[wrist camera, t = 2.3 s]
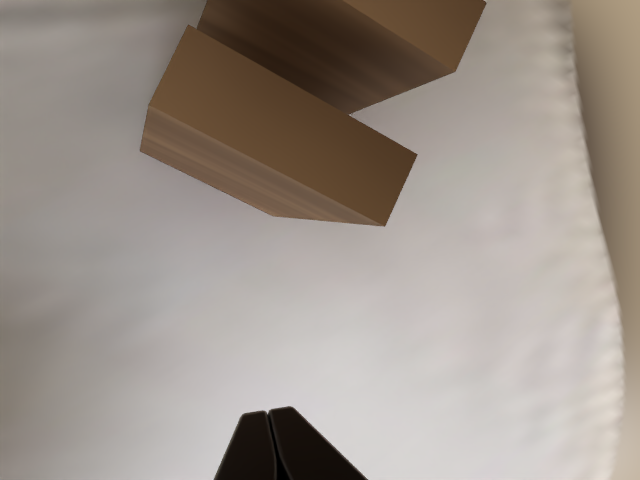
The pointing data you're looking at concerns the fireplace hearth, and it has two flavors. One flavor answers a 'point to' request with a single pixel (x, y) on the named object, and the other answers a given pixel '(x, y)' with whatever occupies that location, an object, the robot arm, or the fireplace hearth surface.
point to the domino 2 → (347, 42)
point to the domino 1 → (269, 139)
